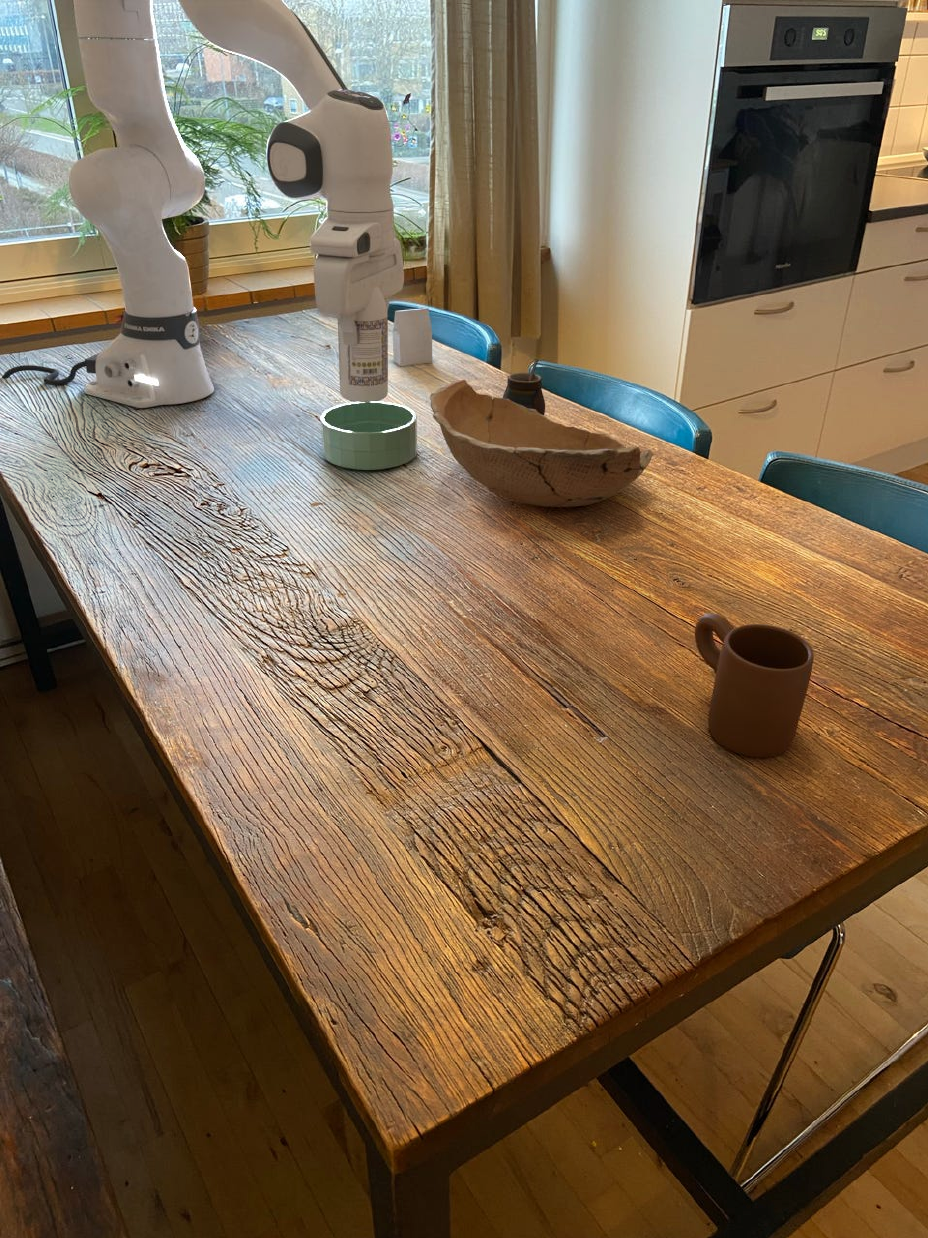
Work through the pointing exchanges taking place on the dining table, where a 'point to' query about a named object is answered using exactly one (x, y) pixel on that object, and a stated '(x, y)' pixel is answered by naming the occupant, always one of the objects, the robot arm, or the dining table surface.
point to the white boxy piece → (412, 337)
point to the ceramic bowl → (531, 451)
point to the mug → (754, 684)
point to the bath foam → (366, 354)
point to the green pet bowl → (369, 435)
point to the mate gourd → (526, 390)
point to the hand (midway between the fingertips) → (365, 336)
